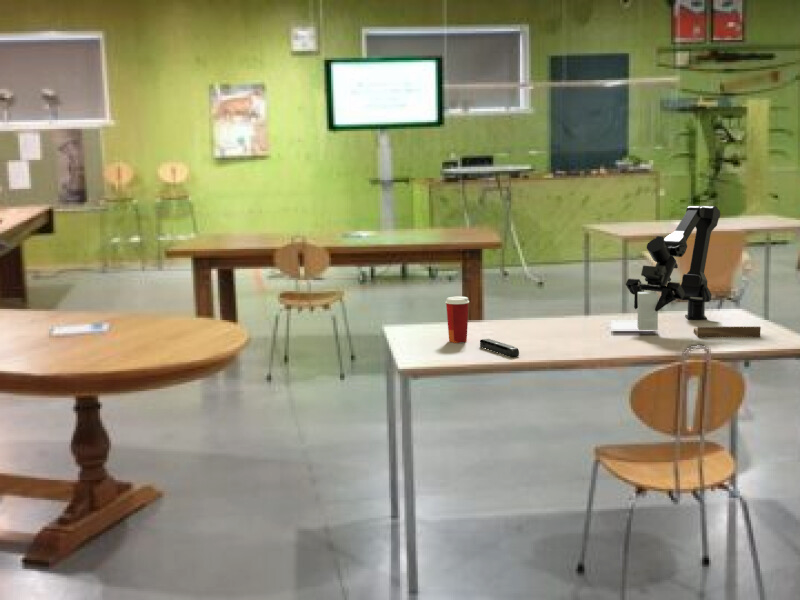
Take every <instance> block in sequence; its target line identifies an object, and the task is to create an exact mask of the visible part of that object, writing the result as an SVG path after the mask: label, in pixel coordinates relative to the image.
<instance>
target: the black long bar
mask: <svg viewBox="0 0 800 600" xmlns="http://www.w3.org/2000/svg"><path fill="white" fill-rule="evenodd" d="M480 347H483V348H486V349H485V350H487V349H489V350H488V351H490V350H492V351H491V352H493V351H495V352H494V353H496V352H498V353H497V354H499V353H501V354H500V355H502V354H504V355H503V356H505V355H506V357H508V356H510V357H509V358H516V357H517V356H518V357H519V356H520V351H519V349H518V347H516V346H513V345H511V344H507V343H505V342H504V343H503V342H501V341H497V340H494V339H491V338H484V339H483V338H482V339H480V340H479V348H480ZM483 348H482V349H483ZM518 357H517V358H518Z"/></svg>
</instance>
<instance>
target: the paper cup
mask: <svg viewBox="0 0 800 600" xmlns="http://www.w3.org/2000/svg"><path fill="white" fill-rule="evenodd" d="M444 303H445V305H446V318H447V319H446V320H447V333H448V340H449V341H450V342H449V341H448V342H449V343H451V342H453V344H460V342H464V343H467V340H468V324H469V303H470V300H469V297H467V296H457V295H455V296H449V297H446V299H445V301H444Z"/></svg>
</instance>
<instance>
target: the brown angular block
mask: <svg viewBox="0 0 800 600" xmlns="http://www.w3.org/2000/svg"><path fill="white" fill-rule="evenodd" d="M693 334H694V335H695V336H696V337H697V338H761V326H697V327H694V328H693Z"/></svg>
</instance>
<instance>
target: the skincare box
mask: <svg viewBox="0 0 800 600" xmlns="http://www.w3.org/2000/svg"><path fill="white" fill-rule="evenodd" d="M637 297H638V308H637V329H638V330H639V331H658V330H659V324H658V323H659V310H658V311H657V312H656V311H655V308H656V305H657V303H658V300H659V294H658V292H655V291H644V292H638V293H637Z"/></svg>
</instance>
